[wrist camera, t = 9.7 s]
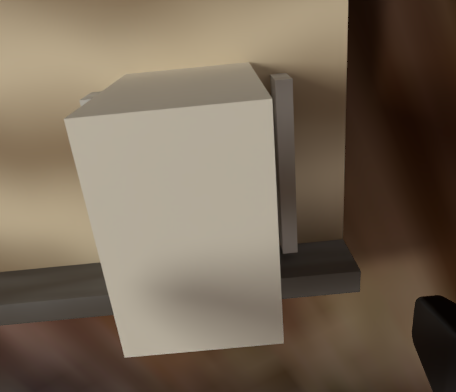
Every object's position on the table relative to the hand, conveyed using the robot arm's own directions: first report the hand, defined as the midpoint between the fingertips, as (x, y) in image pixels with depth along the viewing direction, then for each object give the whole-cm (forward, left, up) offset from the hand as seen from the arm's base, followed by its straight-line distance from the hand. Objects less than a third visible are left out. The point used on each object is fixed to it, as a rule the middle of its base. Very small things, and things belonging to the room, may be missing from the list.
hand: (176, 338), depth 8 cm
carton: (0, 0, -10) cm, 10 cm away
